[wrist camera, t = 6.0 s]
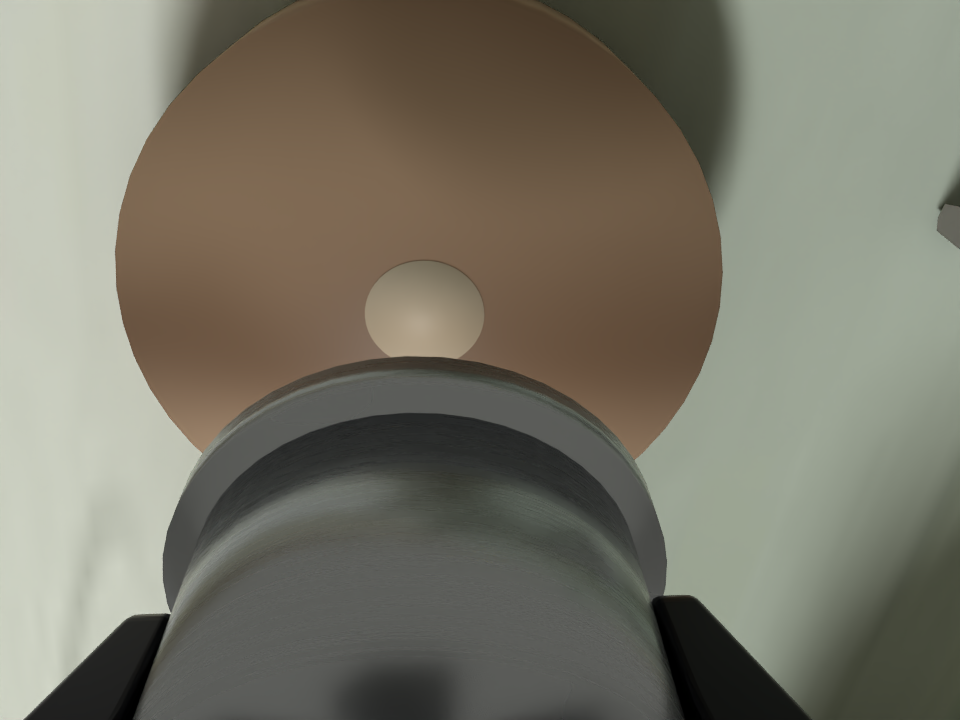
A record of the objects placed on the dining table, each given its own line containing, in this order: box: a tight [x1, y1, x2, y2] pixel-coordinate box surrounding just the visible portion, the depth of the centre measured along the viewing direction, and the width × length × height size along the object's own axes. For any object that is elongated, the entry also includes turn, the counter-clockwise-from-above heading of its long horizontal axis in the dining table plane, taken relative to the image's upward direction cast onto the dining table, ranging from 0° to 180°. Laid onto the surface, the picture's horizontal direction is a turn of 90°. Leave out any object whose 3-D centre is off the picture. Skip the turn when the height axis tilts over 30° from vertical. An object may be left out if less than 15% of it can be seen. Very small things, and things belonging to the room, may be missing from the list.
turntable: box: [115, 0, 723, 460], centre depth 14 cm, size 14×10×7 cm
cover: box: [132, 356, 685, 720], centre depth 8 cm, size 5×5×3 cm
